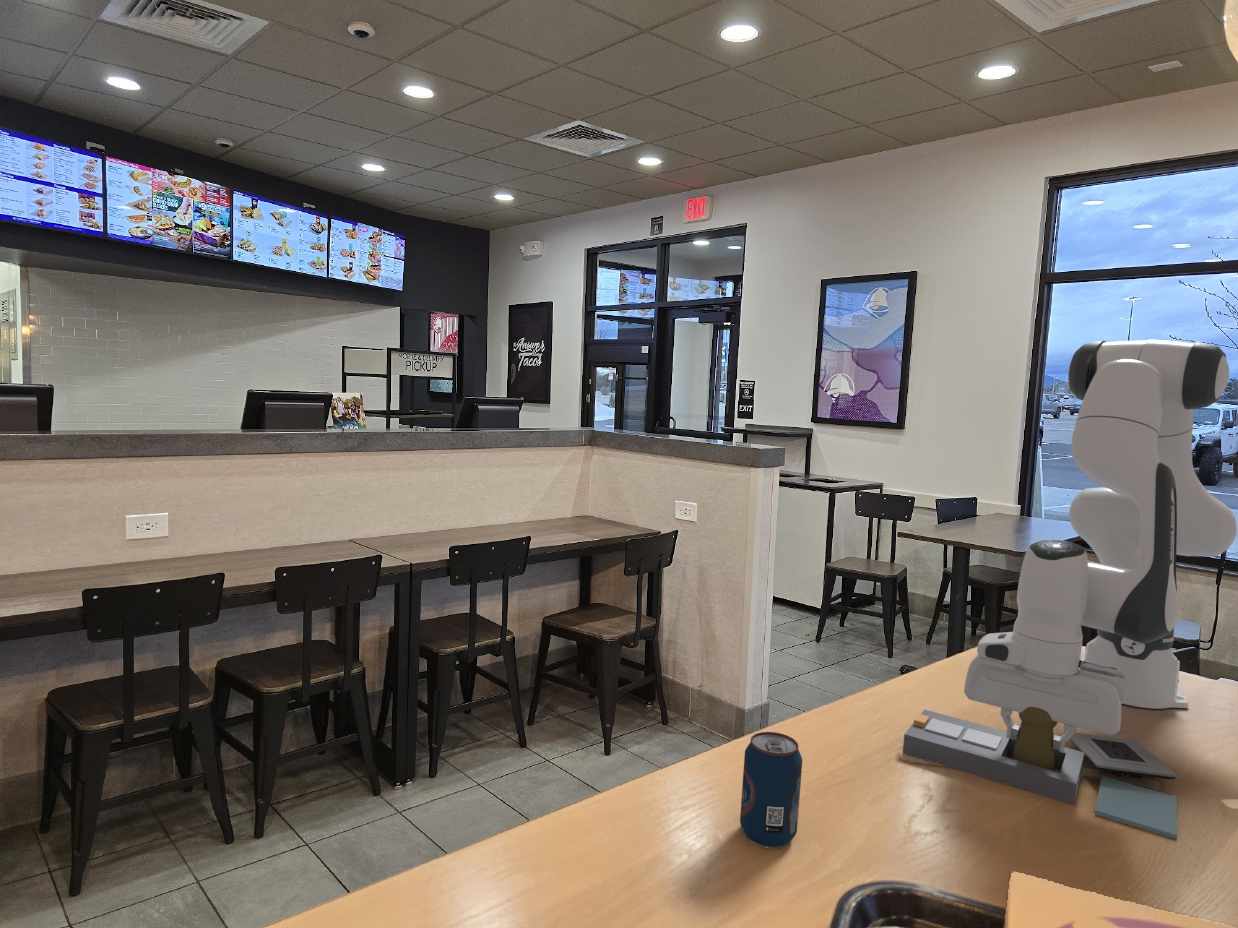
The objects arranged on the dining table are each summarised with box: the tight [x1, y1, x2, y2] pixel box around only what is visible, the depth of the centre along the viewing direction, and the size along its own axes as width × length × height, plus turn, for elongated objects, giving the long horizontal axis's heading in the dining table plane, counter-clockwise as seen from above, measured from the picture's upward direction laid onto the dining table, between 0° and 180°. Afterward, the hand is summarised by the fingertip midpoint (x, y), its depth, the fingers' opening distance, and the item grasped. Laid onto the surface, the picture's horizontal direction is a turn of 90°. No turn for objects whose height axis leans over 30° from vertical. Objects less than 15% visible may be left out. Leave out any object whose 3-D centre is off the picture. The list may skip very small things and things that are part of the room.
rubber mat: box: [1094, 775, 1178, 840], centre depth 108 cm, size 12×9×1 cm
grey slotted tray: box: [902, 709, 1085, 806], centre depth 119 cm, size 12×23×4 cm, turn 55°
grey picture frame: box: [1063, 730, 1178, 780], centre depth 119 cm, size 13×10×2 cm
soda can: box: [739, 731, 803, 849], centre depth 96 cm, size 7×7×12 cm
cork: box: [1011, 707, 1059, 771], centre depth 115 cm, size 6×6×11 cm
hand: (1035, 743), depth 116 cm, fingers open, 5 cm apart
